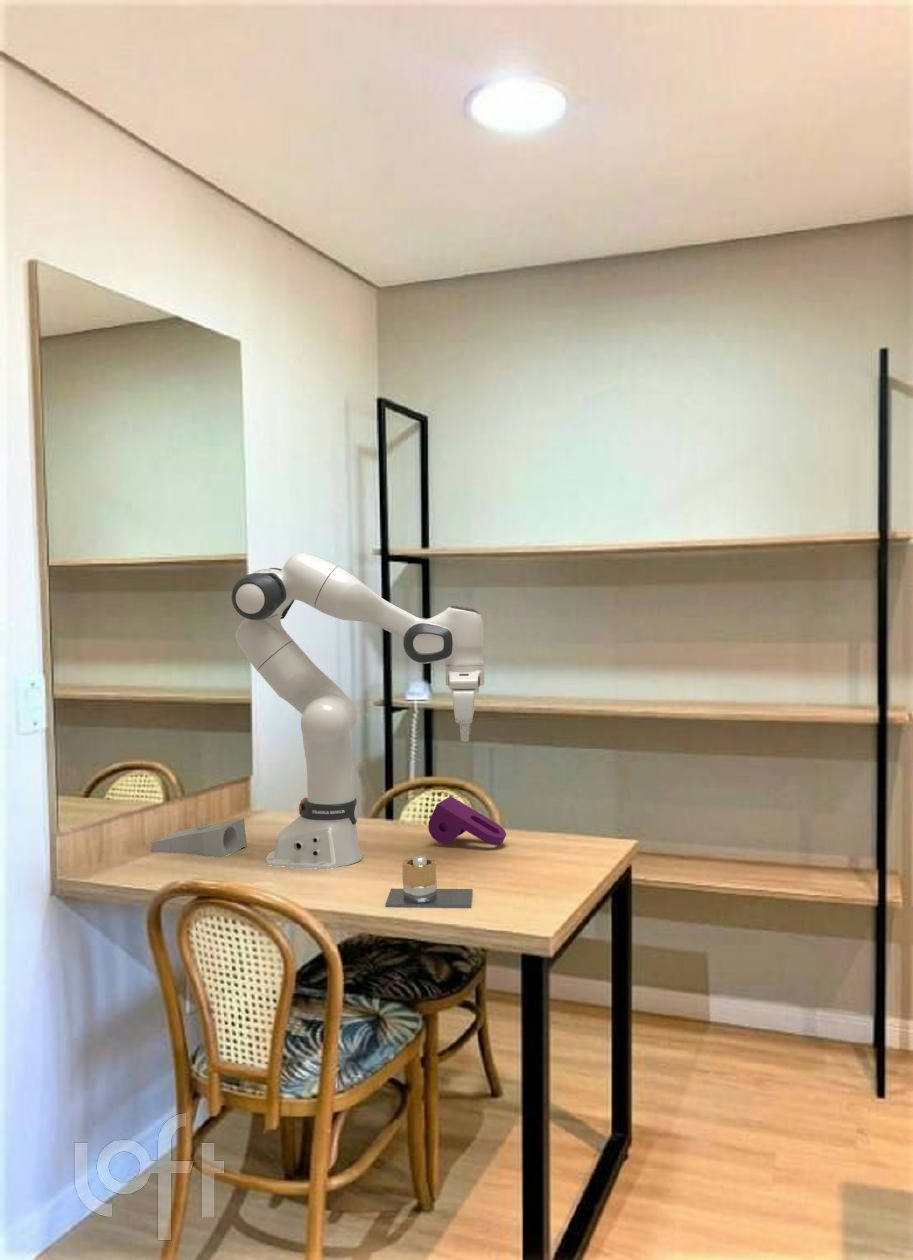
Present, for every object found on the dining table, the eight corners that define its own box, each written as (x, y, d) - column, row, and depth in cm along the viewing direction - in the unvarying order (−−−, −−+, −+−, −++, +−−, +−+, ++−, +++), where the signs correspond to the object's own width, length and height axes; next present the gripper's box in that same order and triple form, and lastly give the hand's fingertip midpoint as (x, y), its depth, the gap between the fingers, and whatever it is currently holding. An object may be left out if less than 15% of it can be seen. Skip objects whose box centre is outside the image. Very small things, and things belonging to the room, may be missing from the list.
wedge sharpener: (223, 858, 233) (222, 829, 232) (151, 851, 239) (150, 823, 238) (246, 846, 243) (246, 818, 243) (177, 840, 249) (176, 813, 249)
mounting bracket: (497, 860, 247) (437, 823, 252) (511, 831, 245) (450, 795, 250) (484, 870, 238) (423, 832, 243) (499, 841, 236) (436, 803, 242)
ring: (401, 886, 195) (401, 866, 195) (405, 876, 202) (404, 857, 201) (434, 886, 195) (434, 867, 194) (437, 876, 201) (436, 857, 201)
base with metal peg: (385, 909, 194) (384, 864, 193) (391, 893, 204) (390, 850, 203) (471, 909, 193) (470, 864, 192) (472, 893, 203) (472, 850, 202)
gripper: (453, 673, 233) (454, 730, 233) (448, 681, 212) (449, 745, 213) (479, 673, 232) (480, 730, 233) (477, 681, 212) (478, 745, 213)
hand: (465, 737), depth 223 cm, fingers open, 8 cm apart
